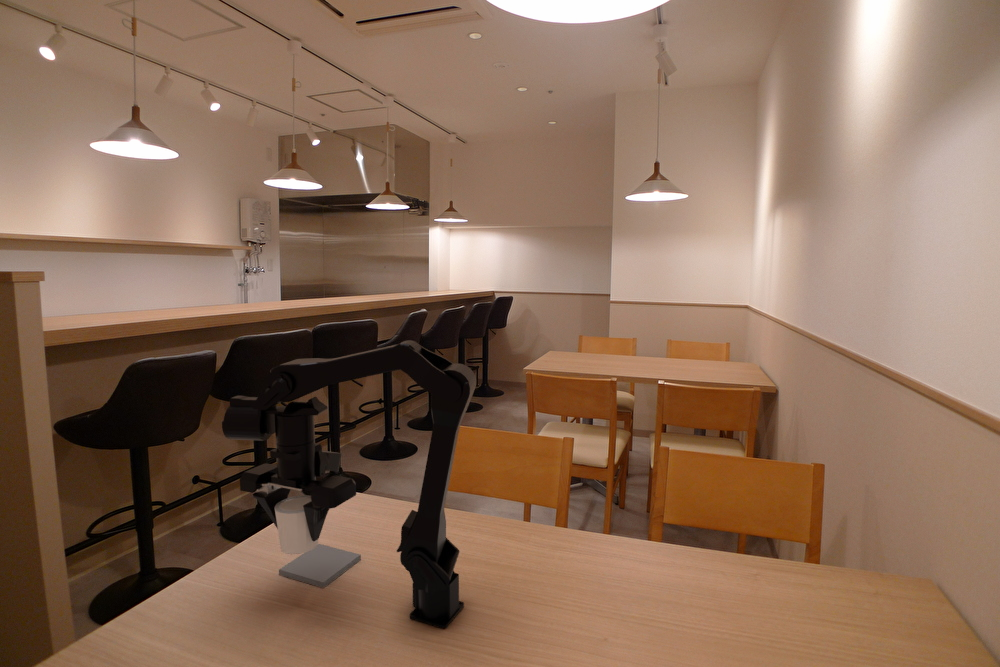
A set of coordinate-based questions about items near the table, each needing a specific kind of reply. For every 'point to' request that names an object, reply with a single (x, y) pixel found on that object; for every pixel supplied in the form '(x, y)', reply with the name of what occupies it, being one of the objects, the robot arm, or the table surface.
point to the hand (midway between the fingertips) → (299, 536)
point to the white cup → (293, 525)
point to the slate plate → (320, 565)
